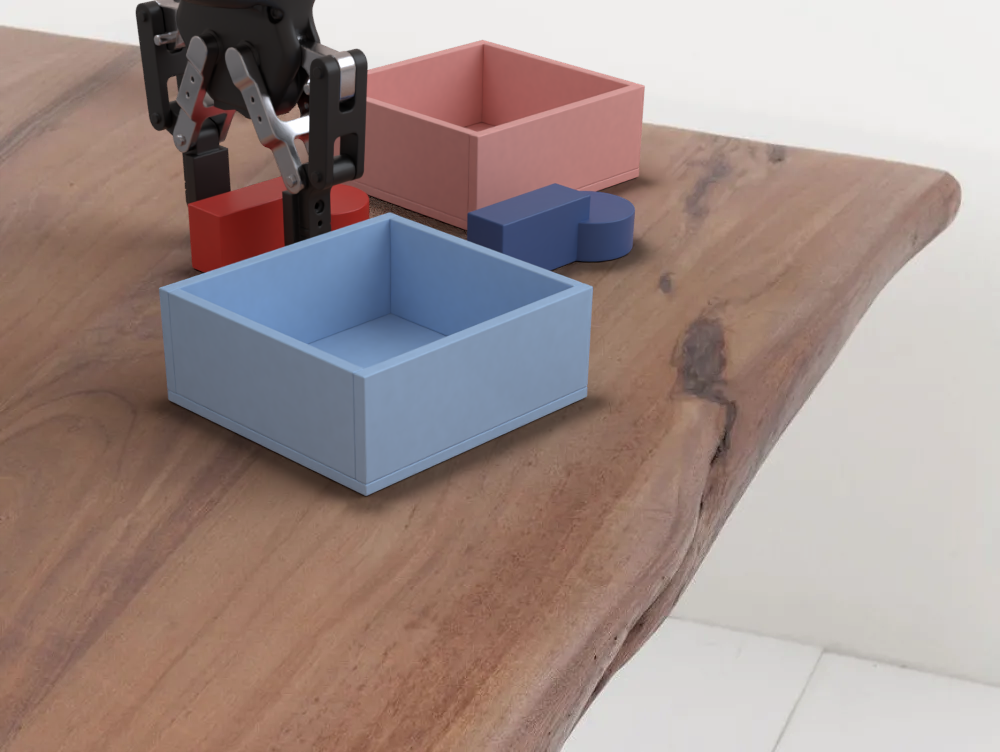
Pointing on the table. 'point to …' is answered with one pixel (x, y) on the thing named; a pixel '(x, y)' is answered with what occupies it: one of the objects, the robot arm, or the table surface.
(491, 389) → the blue bin
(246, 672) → the table surface
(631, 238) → the dark blue rounded block
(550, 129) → the rose bin
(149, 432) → the table surface
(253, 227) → the red rounded block
